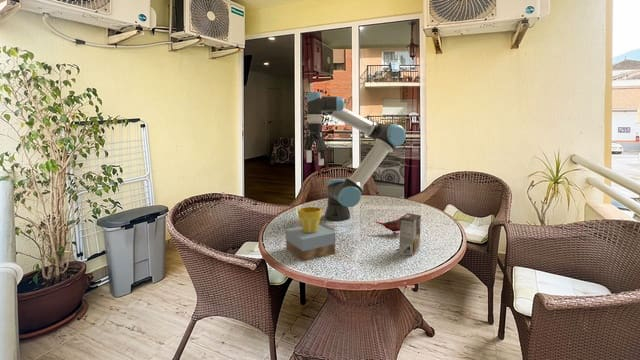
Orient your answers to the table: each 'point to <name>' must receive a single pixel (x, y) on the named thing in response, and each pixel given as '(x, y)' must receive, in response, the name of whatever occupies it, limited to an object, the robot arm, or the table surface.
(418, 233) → the coffee box
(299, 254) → the tower base
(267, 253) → the table surface
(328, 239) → the tower top
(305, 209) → the plant pot
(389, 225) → the decorative bird figurine
